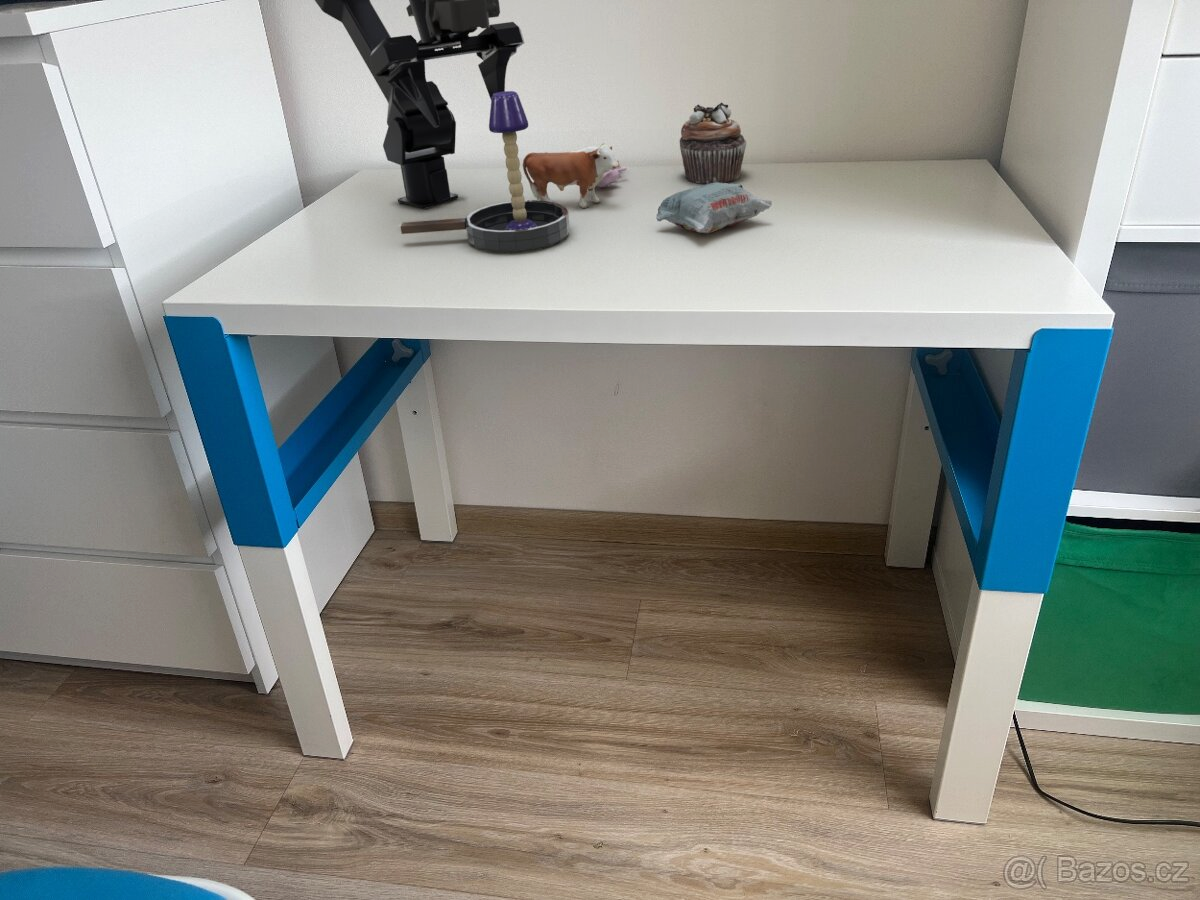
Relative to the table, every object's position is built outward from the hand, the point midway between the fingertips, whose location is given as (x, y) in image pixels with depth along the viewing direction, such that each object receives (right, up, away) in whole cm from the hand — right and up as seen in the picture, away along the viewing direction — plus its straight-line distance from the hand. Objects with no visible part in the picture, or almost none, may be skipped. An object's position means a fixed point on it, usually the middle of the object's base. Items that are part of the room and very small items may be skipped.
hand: (469, 120), depth 109 cm
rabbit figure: (+17, -2, +19) cm, 26 cm away
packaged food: (+30, -14, 0) cm, 33 cm away
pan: (+6, -14, +1) cm, 15 cm away
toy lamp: (+6, -14, +1) cm, 15 cm away
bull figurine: (+13, -7, +12) cm, 19 cm away
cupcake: (+33, -1, +20) cm, 39 cm away
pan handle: (-5, -14, 0) cm, 14 cm away
